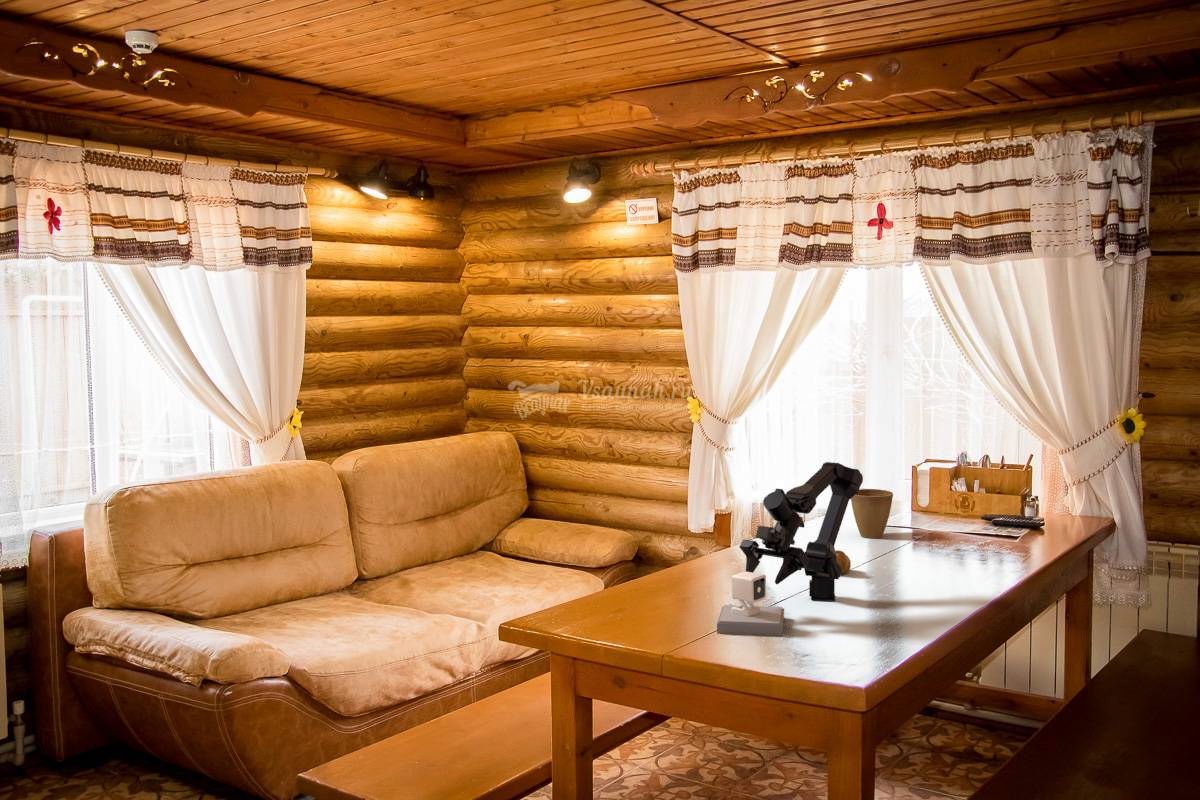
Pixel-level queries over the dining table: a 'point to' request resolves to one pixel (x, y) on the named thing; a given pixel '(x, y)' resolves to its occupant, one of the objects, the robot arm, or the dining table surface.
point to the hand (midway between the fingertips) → (761, 580)
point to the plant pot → (871, 511)
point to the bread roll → (843, 561)
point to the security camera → (748, 592)
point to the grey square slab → (752, 621)
